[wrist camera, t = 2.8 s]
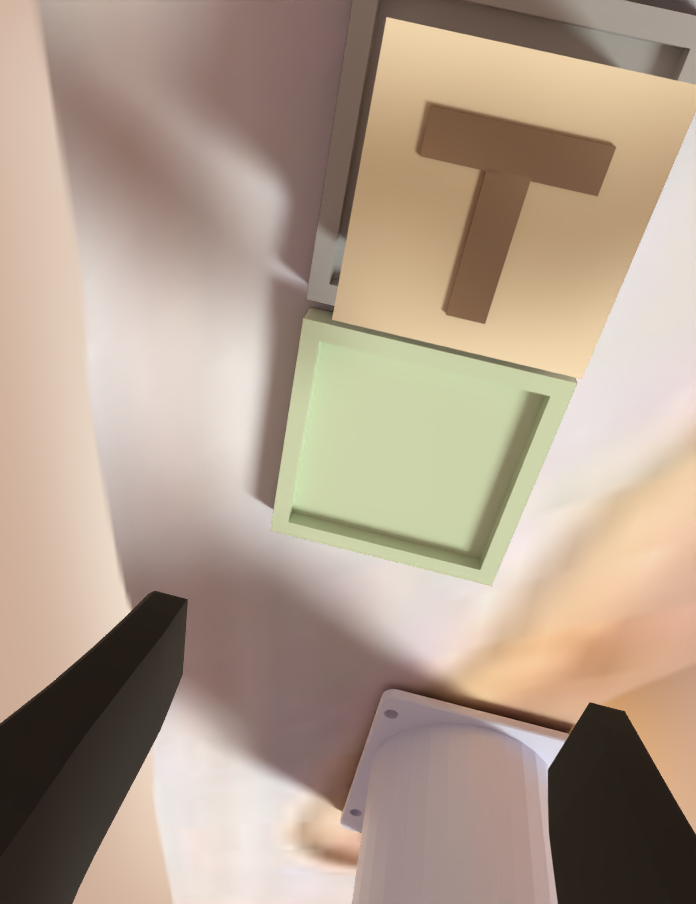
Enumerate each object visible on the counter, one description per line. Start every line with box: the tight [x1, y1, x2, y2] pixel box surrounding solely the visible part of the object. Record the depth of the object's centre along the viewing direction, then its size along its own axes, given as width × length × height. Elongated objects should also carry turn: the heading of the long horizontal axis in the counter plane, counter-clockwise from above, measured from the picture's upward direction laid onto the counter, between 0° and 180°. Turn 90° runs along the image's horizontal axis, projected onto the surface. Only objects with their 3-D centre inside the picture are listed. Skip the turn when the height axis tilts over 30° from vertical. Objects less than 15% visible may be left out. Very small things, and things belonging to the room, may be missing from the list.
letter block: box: [332, 17, 696, 379], centre depth 12 cm, size 5×5×5 cm
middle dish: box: [306, 0, 696, 306], centre depth 14 cm, size 7×7×1 cm
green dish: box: [270, 307, 577, 586], centre depth 18 cm, size 7×7×1 cm
